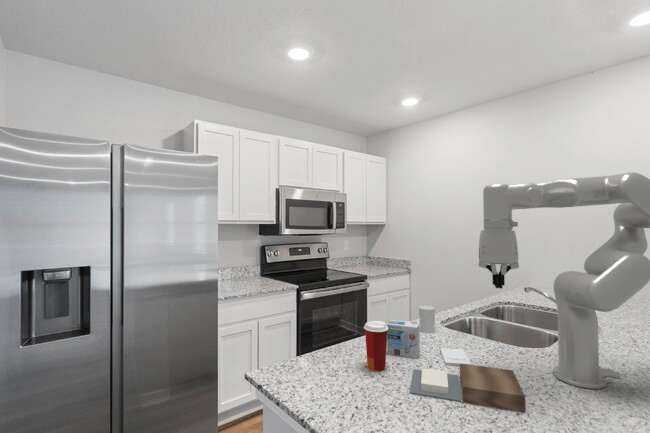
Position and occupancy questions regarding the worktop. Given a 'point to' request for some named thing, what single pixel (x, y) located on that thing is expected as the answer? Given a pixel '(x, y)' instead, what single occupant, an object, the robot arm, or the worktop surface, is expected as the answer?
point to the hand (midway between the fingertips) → (498, 287)
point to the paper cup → (376, 345)
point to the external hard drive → (454, 357)
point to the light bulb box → (403, 338)
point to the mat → (452, 393)
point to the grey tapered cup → (427, 319)
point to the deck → (491, 387)
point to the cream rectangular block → (434, 381)
